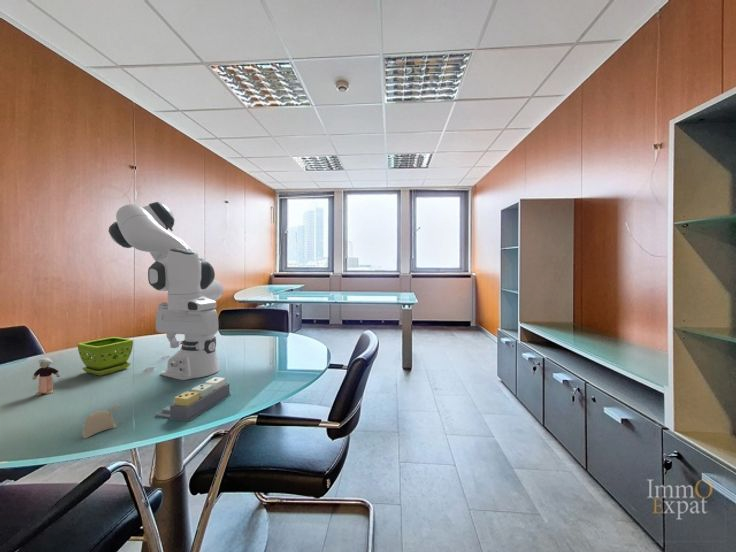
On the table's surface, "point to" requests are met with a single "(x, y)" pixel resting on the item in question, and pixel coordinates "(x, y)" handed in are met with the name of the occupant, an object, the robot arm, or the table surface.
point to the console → (195, 406)
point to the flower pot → (105, 355)
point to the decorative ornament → (98, 422)
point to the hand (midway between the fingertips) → (187, 348)
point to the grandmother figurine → (45, 376)
